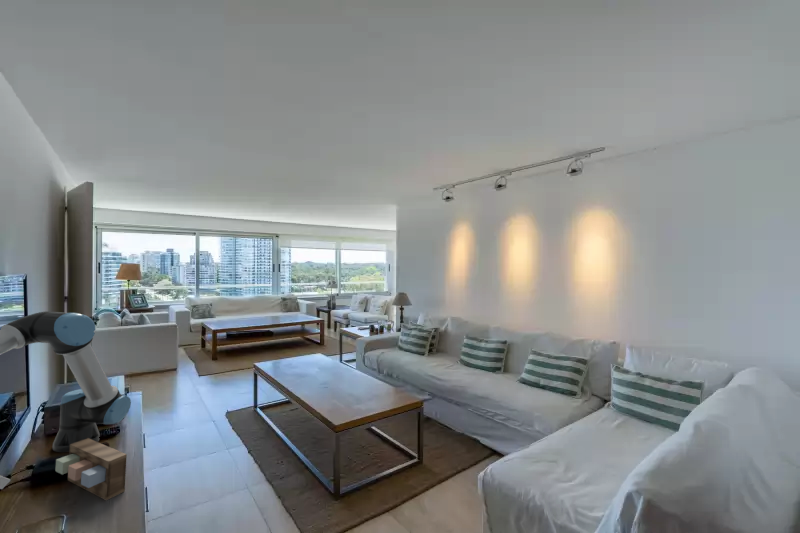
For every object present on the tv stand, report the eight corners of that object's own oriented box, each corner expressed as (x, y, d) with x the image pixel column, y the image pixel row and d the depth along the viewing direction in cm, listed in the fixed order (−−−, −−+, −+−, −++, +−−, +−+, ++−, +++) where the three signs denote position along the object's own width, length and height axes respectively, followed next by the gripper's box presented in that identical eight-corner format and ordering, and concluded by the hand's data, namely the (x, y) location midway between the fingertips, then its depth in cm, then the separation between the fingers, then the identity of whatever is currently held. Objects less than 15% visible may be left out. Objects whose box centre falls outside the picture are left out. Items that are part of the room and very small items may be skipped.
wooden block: (67, 480, 130) (69, 444, 130) (85, 472, 135) (88, 438, 135) (106, 500, 121) (108, 461, 121) (124, 491, 126) (126, 454, 126)
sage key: (55, 471, 125) (56, 459, 126) (73, 464, 130) (73, 453, 130) (62, 474, 124) (63, 463, 124) (79, 467, 128) (80, 456, 128)
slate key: (80, 484, 119) (81, 472, 119) (98, 476, 124) (99, 464, 124) (88, 488, 117) (89, 475, 117) (106, 480, 122) (106, 468, 122)
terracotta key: (67, 477, 122) (68, 465, 122) (85, 470, 127) (86, 458, 127) (75, 481, 120) (75, 469, 120) (92, 473, 125) (93, 462, 125)
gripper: (-103, 461, 98) (-17, 491, 112) (-85, 474, 92) (2, 503, 107) (-70, 434, 102) (7, 465, 117) (-51, 445, 97) (27, 476, 112)
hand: (5, 483), depth 112 cm, fingers closed
